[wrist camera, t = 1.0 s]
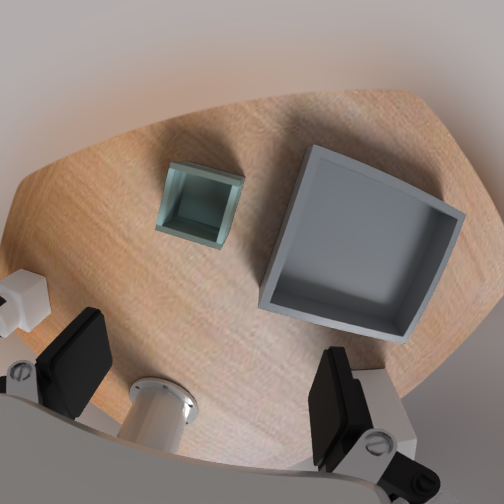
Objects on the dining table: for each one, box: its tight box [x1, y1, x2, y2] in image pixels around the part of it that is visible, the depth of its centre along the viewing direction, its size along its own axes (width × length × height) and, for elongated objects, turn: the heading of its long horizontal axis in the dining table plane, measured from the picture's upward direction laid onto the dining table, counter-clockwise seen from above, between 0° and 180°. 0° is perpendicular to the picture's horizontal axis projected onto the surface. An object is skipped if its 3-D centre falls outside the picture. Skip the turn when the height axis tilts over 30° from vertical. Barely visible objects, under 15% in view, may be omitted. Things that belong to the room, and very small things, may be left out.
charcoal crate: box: [258, 144, 466, 344], centre depth 31 cm, size 18×20×5 cm
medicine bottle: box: [0, 269, 51, 338], centre depth 33 cm, size 7×7×12 cm
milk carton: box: [351, 369, 417, 460], centre depth 31 cm, size 7×7×19 cm
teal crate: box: [155, 161, 246, 250], centre depth 30 cm, size 7×7×6 cm
